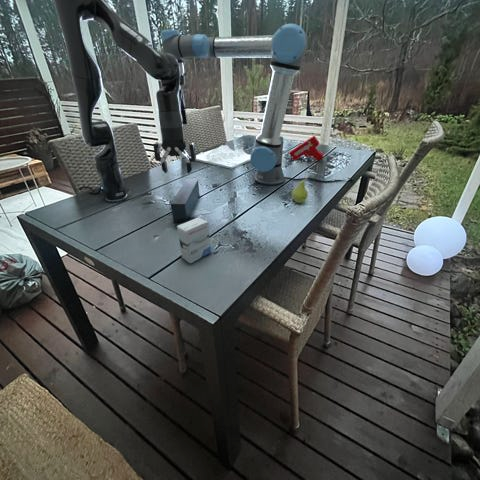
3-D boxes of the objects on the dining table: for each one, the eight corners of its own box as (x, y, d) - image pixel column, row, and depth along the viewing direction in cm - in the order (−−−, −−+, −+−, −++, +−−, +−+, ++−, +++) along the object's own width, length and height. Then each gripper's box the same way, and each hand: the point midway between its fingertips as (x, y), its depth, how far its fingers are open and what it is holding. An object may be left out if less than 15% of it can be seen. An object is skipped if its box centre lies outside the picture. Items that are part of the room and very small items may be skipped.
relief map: (231, 168, 161) (231, 160, 158) (189, 159, 179) (189, 151, 176) (257, 158, 179) (257, 150, 176) (217, 150, 197) (216, 142, 194)
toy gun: (327, 155, 171) (314, 135, 167) (326, 157, 167) (314, 136, 164) (302, 170, 181) (290, 151, 177) (301, 172, 177) (288, 153, 174)
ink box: (202, 246, 92) (199, 215, 85) (211, 252, 89) (209, 221, 82) (180, 257, 87) (176, 225, 80) (190, 264, 84) (185, 231, 77)
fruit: (288, 200, 123) (290, 174, 116) (302, 197, 125) (305, 172, 119) (296, 206, 118) (299, 179, 111) (310, 203, 120) (314, 177, 114)
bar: (188, 196, 128) (186, 179, 123) (199, 196, 128) (198, 179, 123) (173, 223, 106) (170, 203, 101) (187, 223, 106) (184, 203, 101)
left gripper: (146, 127, 88) (155, 175, 96) (190, 127, 87) (194, 176, 96) (153, 123, 94) (161, 169, 103) (194, 123, 93) (198, 169, 102)
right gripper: (171, 74, 129) (178, 122, 140) (161, 75, 107) (170, 132, 119) (187, 73, 129) (193, 122, 140) (180, 74, 108) (187, 131, 119)
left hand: (177, 172), depth 99 cm, fingers open, 8 cm apart
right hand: (182, 126), depth 129 cm, fingers open, 13 cm apart
